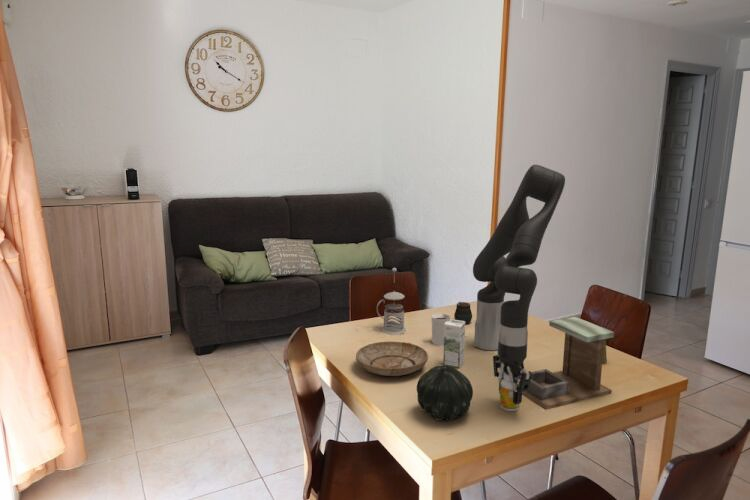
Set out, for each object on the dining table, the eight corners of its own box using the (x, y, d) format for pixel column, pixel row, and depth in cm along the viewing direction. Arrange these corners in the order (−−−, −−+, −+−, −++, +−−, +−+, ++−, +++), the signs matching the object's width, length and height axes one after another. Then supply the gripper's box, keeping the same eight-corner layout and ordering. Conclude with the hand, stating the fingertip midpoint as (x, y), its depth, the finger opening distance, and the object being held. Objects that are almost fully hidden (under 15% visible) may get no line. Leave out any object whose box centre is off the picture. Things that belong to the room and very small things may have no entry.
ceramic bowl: (442, 367, 170) (443, 353, 169) (392, 391, 154) (392, 375, 153) (391, 348, 186) (391, 335, 185) (341, 367, 170) (340, 353, 169)
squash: (446, 374, 152) (425, 347, 143) (489, 393, 141) (470, 365, 132) (420, 416, 147) (397, 391, 138) (463, 439, 136) (441, 413, 127)
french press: (407, 334, 199) (407, 270, 195) (376, 334, 200) (376, 270, 195) (406, 326, 209) (406, 265, 204) (376, 325, 209) (376, 264, 204)
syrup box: (464, 362, 174) (465, 320, 171) (459, 368, 169) (460, 325, 166) (447, 359, 176) (449, 318, 173) (442, 365, 171) (443, 323, 168)
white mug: (451, 341, 193) (452, 315, 191) (445, 347, 187) (446, 320, 185) (434, 338, 196) (435, 312, 194) (428, 344, 190) (428, 317, 188)
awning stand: (546, 409, 142) (550, 345, 139) (509, 385, 157) (512, 326, 153) (611, 393, 152) (617, 332, 148) (570, 371, 166) (575, 316, 163)
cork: (608, 365, 171) (611, 333, 169) (589, 363, 172) (591, 331, 170) (604, 357, 177) (607, 327, 175) (585, 356, 178) (588, 325, 176)
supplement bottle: (496, 402, 146) (498, 369, 144) (515, 401, 147) (517, 369, 145) (503, 412, 141) (504, 378, 139) (522, 411, 142) (524, 377, 140)
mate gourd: (473, 321, 215) (474, 297, 213) (469, 326, 208) (470, 302, 206) (456, 318, 218) (457, 295, 216) (451, 324, 211) (452, 300, 209)
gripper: (542, 347, 135) (538, 407, 138) (507, 329, 148) (504, 385, 151) (518, 351, 132) (515, 413, 136) (485, 333, 145) (483, 390, 148)
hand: (509, 398), depth 143 cm, fingers closed on supplement bottle, 5 cm apart
